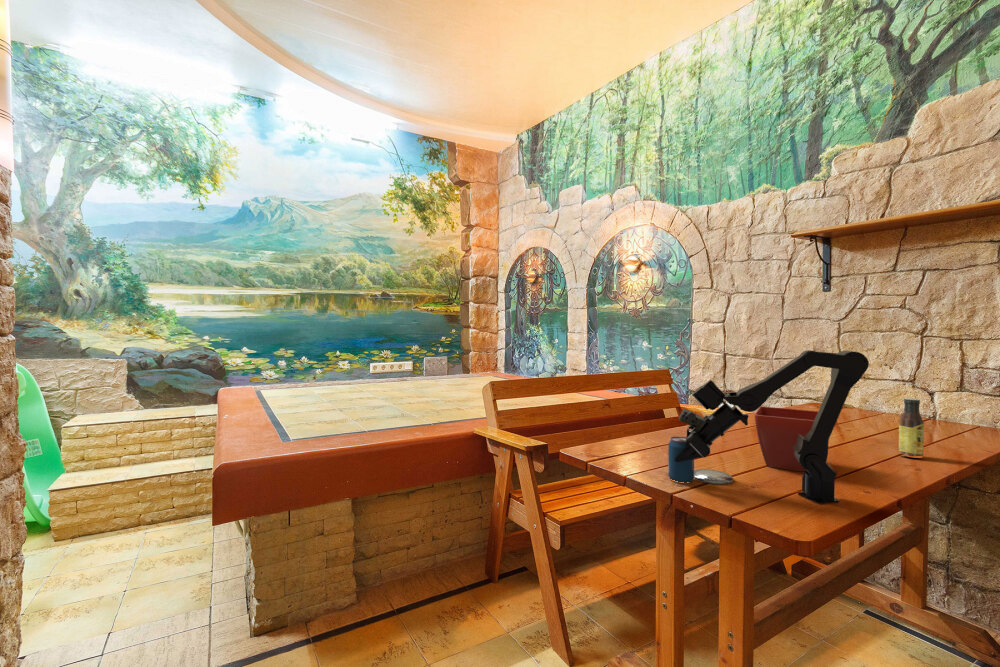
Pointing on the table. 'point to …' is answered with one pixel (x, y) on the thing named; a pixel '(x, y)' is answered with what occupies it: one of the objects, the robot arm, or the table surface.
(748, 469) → the table surface
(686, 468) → the soda can
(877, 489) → the table surface
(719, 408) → the robot arm
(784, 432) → the plant pot
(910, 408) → the sauce bottle
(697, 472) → the silver metal disc
